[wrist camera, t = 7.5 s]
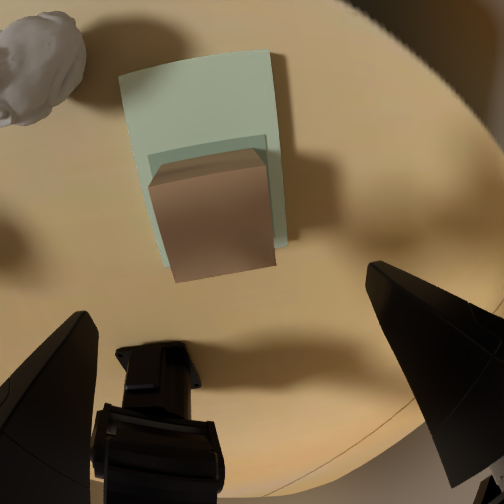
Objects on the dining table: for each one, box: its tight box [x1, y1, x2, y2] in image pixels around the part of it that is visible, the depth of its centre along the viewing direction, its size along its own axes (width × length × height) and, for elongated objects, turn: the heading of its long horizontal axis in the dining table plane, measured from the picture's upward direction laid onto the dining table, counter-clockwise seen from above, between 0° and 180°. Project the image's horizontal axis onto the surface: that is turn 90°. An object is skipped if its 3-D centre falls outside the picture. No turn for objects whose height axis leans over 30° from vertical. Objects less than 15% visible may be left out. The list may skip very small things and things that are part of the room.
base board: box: [118, 49, 288, 268], centre depth 16 cm, size 12×8×1 cm, turn 7°
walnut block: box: [148, 148, 276, 283], centre depth 15 cm, size 5×5×4 cm
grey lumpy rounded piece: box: [0, 11, 87, 127], centre depth 9 cm, size 6×7×7 cm
